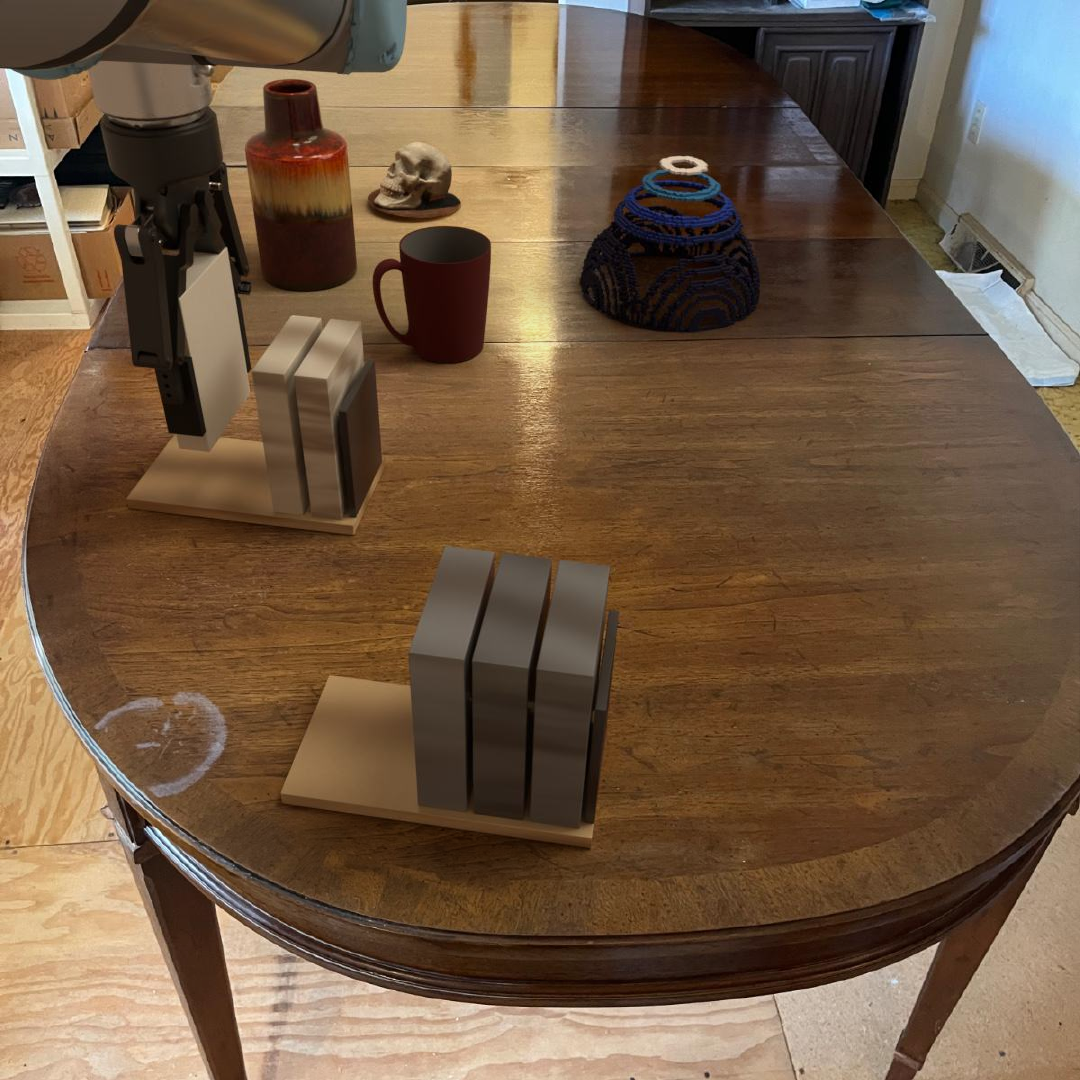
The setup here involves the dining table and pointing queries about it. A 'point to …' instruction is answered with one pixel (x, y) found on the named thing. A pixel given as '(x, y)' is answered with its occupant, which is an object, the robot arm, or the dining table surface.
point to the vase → (300, 192)
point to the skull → (416, 184)
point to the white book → (213, 345)
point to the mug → (441, 291)
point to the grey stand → (477, 708)
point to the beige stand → (287, 441)
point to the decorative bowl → (651, 245)
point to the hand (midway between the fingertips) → (212, 399)
